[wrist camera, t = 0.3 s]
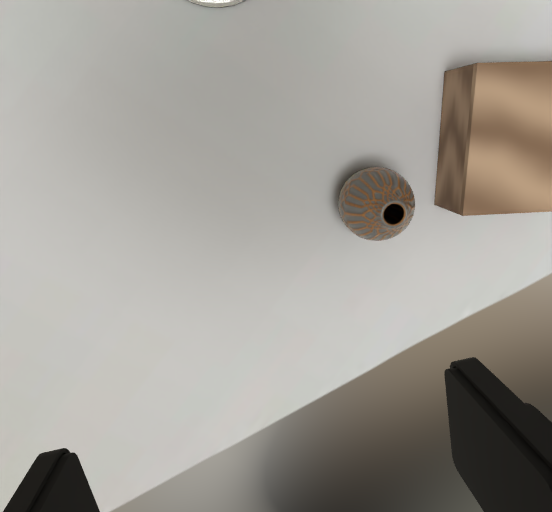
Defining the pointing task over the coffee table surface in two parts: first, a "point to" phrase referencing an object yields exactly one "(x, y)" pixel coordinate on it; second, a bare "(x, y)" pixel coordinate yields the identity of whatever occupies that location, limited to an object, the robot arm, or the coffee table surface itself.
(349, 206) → the vase
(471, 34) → the coffee table surface
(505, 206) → the walnut box
